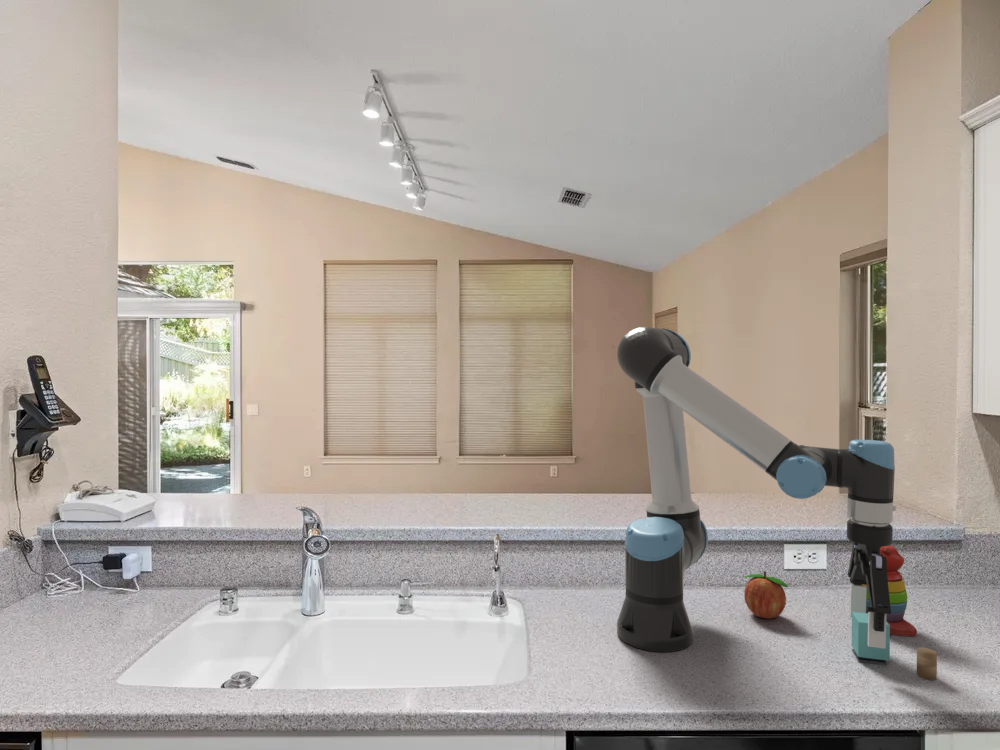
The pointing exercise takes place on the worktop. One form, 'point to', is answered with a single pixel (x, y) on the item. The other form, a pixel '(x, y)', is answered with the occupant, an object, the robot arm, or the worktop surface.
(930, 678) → the oak stub
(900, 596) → the stacking bear
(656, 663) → the worktop surface
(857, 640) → the teal rectangular prism
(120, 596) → the worktop surface
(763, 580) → the fruit
